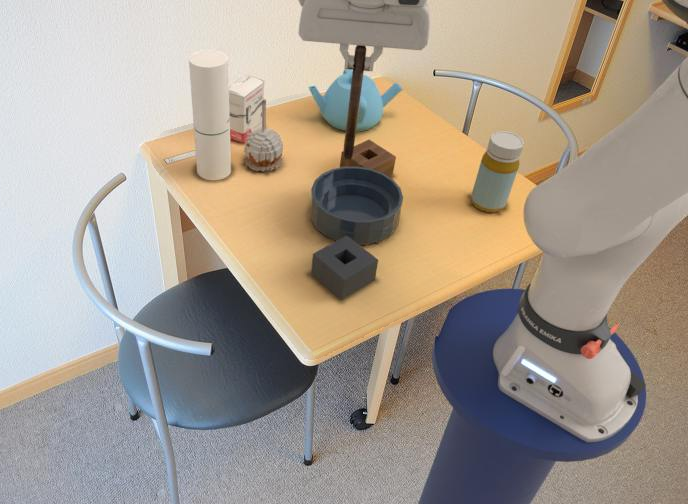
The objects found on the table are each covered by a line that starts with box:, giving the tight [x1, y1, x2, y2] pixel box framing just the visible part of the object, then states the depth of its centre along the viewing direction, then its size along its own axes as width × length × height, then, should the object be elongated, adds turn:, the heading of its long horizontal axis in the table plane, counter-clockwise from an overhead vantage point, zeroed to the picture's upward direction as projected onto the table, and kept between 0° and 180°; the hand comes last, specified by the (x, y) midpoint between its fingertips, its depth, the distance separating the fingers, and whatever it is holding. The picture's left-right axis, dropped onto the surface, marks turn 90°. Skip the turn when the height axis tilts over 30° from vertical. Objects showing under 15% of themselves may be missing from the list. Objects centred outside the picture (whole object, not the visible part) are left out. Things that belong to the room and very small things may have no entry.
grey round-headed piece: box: [244, 98, 284, 173], centre depth 135 cm, size 8×8×15 cm
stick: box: [342, 45, 367, 159], centre depth 112 cm, size 2×2×22 cm
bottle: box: [470, 130, 525, 214], centre depth 128 cm, size 7×7×15 cm
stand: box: [310, 236, 379, 301], centre depth 114 cm, size 8×8×5 cm
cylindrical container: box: [188, 48, 232, 181], centre depth 129 cm, size 7×7×25 cm
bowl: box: [309, 166, 404, 245], centre depth 126 cm, size 17×17×6 cm
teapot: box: [308, 69, 404, 133], centre depth 151 cm, size 15×17×11 cm
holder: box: [339, 139, 397, 178], centre depth 137 cm, size 8×8×5 cm
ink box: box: [229, 74, 265, 144], centre depth 145 cm, size 9×5×12 cm, turn 150°
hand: (358, 68), depth 107 cm, fingers closed on stick, 2 cm apart
